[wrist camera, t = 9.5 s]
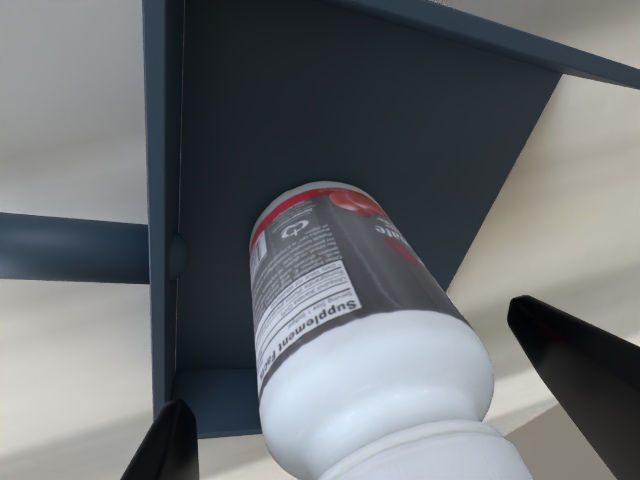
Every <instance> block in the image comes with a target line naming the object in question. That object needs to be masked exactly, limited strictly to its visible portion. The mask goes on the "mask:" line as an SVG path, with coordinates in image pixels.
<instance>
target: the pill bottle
mask: <svg viewBox="0 0 640 480" xmlns="http://www.w3.org/2000/svg"><path fill="white" fill-rule="evenodd" d="M249 252H250V274H251V291H252V305H253V322H254V337H255V350H256V365H257V381H258V396H259V413H260V421H261V427H262V434H263V437H264V441H265V444H266V446H267V448H268V450H269V452H270V454H271V455H272V457H273V459H274V460H275V461H276V462H277V463H278V464H279V465H280V466H281V467H282V468H283V469H284V470H285V471H286V472H288V473H289V474H291V475H292V476H294V477H296V478H298V479H300V480H534V479H533V477H532V476H531V474H530V472H529V471H528V469H527V468H526V466H525V464H524V463H523V461H522V459H521V457H520V455H519V453H518V451H517V449H516V448H515V446H514V445H513V444H512V443H511V442H509V441H506V440H505V439H504V438H503V436H502V435H501V433H500V432H499V431H498V430H497V429H496V428H494V427H493V426H491V425H489V424H486V423H483V422H482V420H483V419H484V417H485V415H486V413H487V411H488V409H489V407H490V404H491V400H492V397H493V392H494V372H493V367H492V363H491V360H490V358H489V355H488V353H487V351H486V349H485V347H484V346H483V344H482V343H481V341H480V340H479V338H478V336H477V334H476V332H475V331H474V330H473V328H472V327H471V326H470V324H469V323H468V322H467V321H466V319H465V318H464V317H463V316H462V315H461V314H460V312H459V311H458V310H457V308H456V307H455V306H454V305H453V303H452V302H451V301H450V299H449V298H448V297H447V295H446V294H445V292H444V291H443V290H442V289H441V287H440V286H439V285H438V283H437V281H436V280H435V279H434V277H433V276H432V275H431V274H430V272H429V271H428V270H427V268H426V267H425V265H424V264H423V263H422V261H421V260H420V258H419V257H418V256H417V255H416V253H415V252H414V251H413V249H412V248H411V247H410V245H409V244H408V243H407V241H406V240H405V239H404V237H403V236H402V235H401V233H400V232H399V230H398V229H397V228H396V227H395V225H394V224H393V222H392V221H391V220H390V218H389V217H388V215H387V214H386V213H385V212H384V211H383V209H382V208H381V207H380V206H379V204H378V203H377V202H376V201H375V200H374V199H373V198H372V197H371V196H370V195H368V194H367V193H366V192H364V191H363V190H361V189H359V188H357V187H355V186H352V185H348V184H345V183H340V182H332V181H318V182H312V183H307V184H304V185H302V186H299V187H297V188H294V189H292V190H289V191H286V192H284V193H283V194H282V195H280V196H279V197H277V198H276V199H275V200H274V201H272V202H271V204H270V205H269V206H268V207H267V208H266V209H265V210H264V211H263V213H262V214H261V215H260V216H259V218H258V220H257V221H256V223H255V225H254V228H253V230H252V234H251V238H250V245H249Z"/></svg>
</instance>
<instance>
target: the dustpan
mask: <svg viewBox="0 0 640 480" xmlns="http://www.w3.org/2000/svg"><path fill="white" fill-rule="evenodd" d="M142 12H143V50H144V88H145V126H146V163H147V201H148V225H144V224H132V223H120V222H108V221H96V220H84V219H72V218H60V217H48V216H36V215H24V214H12V213H1V212H0V279H21V280H47V281H74V282H100V283H126V284H150V315H151V353H152V391H153V422H154V420H155V419H156V417H157V415H158V413H159V412H160V410H161V408H162V407H163V405H164V404H165V403H167V402H169V401H173V400H176V399H183V400H184V401H185V403H186V404H187V405H188V406H189V408H190V409H191V410H192V412H193V413H194V415H195V417H196V423H197V439H207V438H219V437H231V436H243V435H255V434H262V427H261V421H260V413H259V396H258V381H257V365H256V350H255V337H254V322H253V305H252V291H251V274H250V252H249V245H250V238H251V234H252V230H253V228H254V225H255V223H256V221H257V220H258V218H259V216H260V215H261V214H262V213H263V211H264V210H265V209H266V208H267V207H268V206H269V205H270V204H271V202H272V201H274V200H275V199H276V198H277V197H279V196H280V195H282V194H283V193H284V192H286V191H289V190H292V189H294V188H297V187H299V186H302V185H304V184H307V183H312V182H318V181H332V182H340V183H345V184H348V185H352V186H355V187H357V188H359V189H361V190H363V191H364V192H366V193H367V194H368V195H370V196H371V197H372V198H373V199H374V200H375V201H376V202H377V203H378V204H379V206H380V207H381V208H382V209H383V211H384V212H385V213H386V214H387V215H388V217H389V218H390V220H391V221H392V222H393V224H394V225H395V227H396V228H397V229H398V230H399V232H400V233H401V235H402V236H403V237H404V239H405V240H406V241H407V243H408V244H409V245H410V247H411V248H412V249H413V251H414V252H415V253H416V255H417V256H418V257H419V258H420V260H421V261H422V263H423V264H424V265H425V267H426V268H427V270H428V271H429V272H430V274H431V275H432V276H433V277H434V279H435V280H436V281H437V283H438V285H439V286H440V287H441V289H442V290H443V291H444V292H446V290H447V288H448V287H449V285H450V283H451V281H452V279H453V277H454V275H455V274H456V272H457V270H458V268H459V266H460V264H461V262H462V261H463V259H464V257H465V255H466V253H467V251H468V249H469V248H470V246H471V244H472V242H473V240H474V238H475V236H476V235H477V233H478V231H479V229H480V227H481V225H482V223H483V221H484V220H485V218H486V216H487V214H488V212H489V210H490V208H491V207H492V205H493V203H494V201H495V199H496V197H497V195H498V194H499V192H500V190H501V188H502V186H503V184H504V182H505V181H506V179H507V177H508V175H509V173H510V171H511V169H512V168H513V166H514V164H515V162H516V160H517V158H518V156H519V155H520V153H521V151H522V149H523V147H524V145H525V143H526V141H527V140H528V138H529V136H530V134H531V132H532V130H533V128H534V127H535V125H536V123H537V121H538V119H539V117H540V115H541V114H542V112H543V110H544V108H545V106H546V104H547V102H548V101H549V99H550V97H551V95H552V93H553V91H554V89H555V88H556V86H557V84H558V82H559V80H560V78H561V76H562V75H563V74H567V75H572V76H577V77H581V78H586V79H591V80H596V81H600V82H605V83H610V84H615V85H620V86H624V87H629V88H634V89H639V90H640V69H637V68H633V67H630V66H627V65H624V64H621V63H618V62H615V61H612V60H609V59H606V58H603V57H600V56H597V55H594V54H591V53H588V52H585V51H582V50H578V49H575V48H572V47H569V46H566V45H563V44H560V43H557V42H554V41H551V40H548V39H545V38H542V37H539V36H536V35H533V34H530V33H526V32H523V31H520V30H517V29H514V28H511V27H508V26H505V25H502V24H499V23H496V22H493V21H490V20H487V19H484V18H481V17H478V16H475V15H471V14H468V13H465V12H462V11H459V10H456V9H453V8H450V7H447V6H444V5H441V4H438V3H435V2H432V1H429V0H185V8H184V0H142ZM183 31H184V47H183ZM182 71H183V86H182ZM181 110H182V125H181ZM180 150H181V164H180ZM179 190H180V203H179ZM178 230H179V233H178ZM177 278H178V281H177ZM176 309H177V320H176ZM175 349H176V359H175Z"/></svg>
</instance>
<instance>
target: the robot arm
mask: <svg viewBox="0 0 640 480" xmlns="http://www.w3.org/2000/svg"><path fill="white" fill-rule="evenodd" d="M507 322H508V325H509V327H510V329H511V330H512V332H513V334H514V335H515V337H516V339H517V340H518V342H519V344H520V345H521V347H522V348H523V350H524V352H525V353H526V355H527V357H528V358H529V360H530V362H531V363H532V365H533V367H534V368H535V370H536V371H537V373H538V374H539V376H540V378H541V379H542V380H543V382H544V383H545V384H546V386H547V387H548V389H549V390H550V391H551V392H552V394H553V395H554V396H555V398H556V399H557V400H558V402H559V403H560V404H561V406H562V407H563V408H564V410H565V411H566V412H567V414H568V415H569V416H570V418H571V419H572V420H573V422H574V423H575V424H576V426H577V427H578V428H579V430H580V431H581V432H582V434H583V435H584V436H585V437H586V439H587V440H588V442H589V443H590V444H591V446H592V447H593V448H594V450H595V451H596V452H597V453H598V455H599V456H600V458H601V459H602V460H603V461H604V463H605V464H606V465H607V467H608V468H609V469H610V471H611V472H612V473H613V475H614V476H615V477H616V479H617V480H640V347H639V346H637V345H635V344H632V343H630V342H628V341H626V340H624V339H622V338H619V337H617V336H615V335H613V334H611V333H609V332H607V331H604V330H602V329H600V328H598V327H596V326H594V325H592V324H589V323H587V322H585V321H583V320H581V319H579V318H577V317H574V316H572V315H570V314H568V313H566V312H564V311H561V310H559V309H557V308H555V307H553V306H551V305H549V304H546V303H544V302H542V301H540V300H538V299H536V298H534V297H531V296H529V295H522V296H519V297H516V298H513V299H512V300H511V301H510V305H509V310H508V315H507ZM120 480H199V460H198V441H197V423H196V417H195V415H194V413H193V412H192V410H191V409H190V408H189V406H188V405H187V404H186V403H185V401H184V400H183V399H176V400H173V401H169V402H167V403H165V404H164V405H163V407H162V408H161V410H160V412H159V413H158V415H157V417H156V419H155V420H154V422H153V424H152V425H151V427H150V429H149V431H148V432H147V434H146V436H145V438H144V439H143V441H142V443H141V445H140V446H139V448H138V450H137V451H136V453H135V455H134V457H133V458H132V460H131V462H130V464H129V465H128V467H127V469H126V471H125V472H124V474H123V476H122V477H121V479H120Z"/></svg>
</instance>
